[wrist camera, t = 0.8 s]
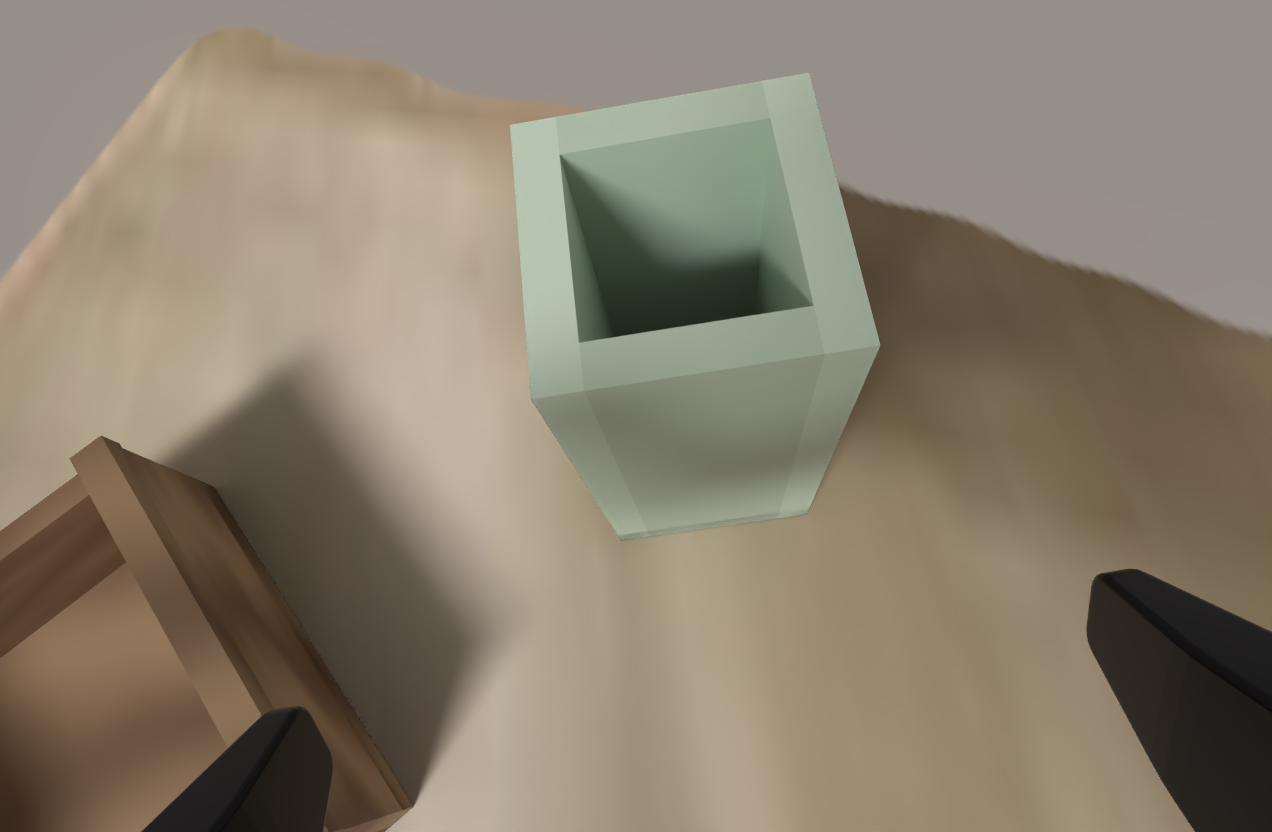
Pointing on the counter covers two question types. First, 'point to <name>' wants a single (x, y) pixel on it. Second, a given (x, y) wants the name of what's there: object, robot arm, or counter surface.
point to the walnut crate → (151, 656)
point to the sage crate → (692, 302)
